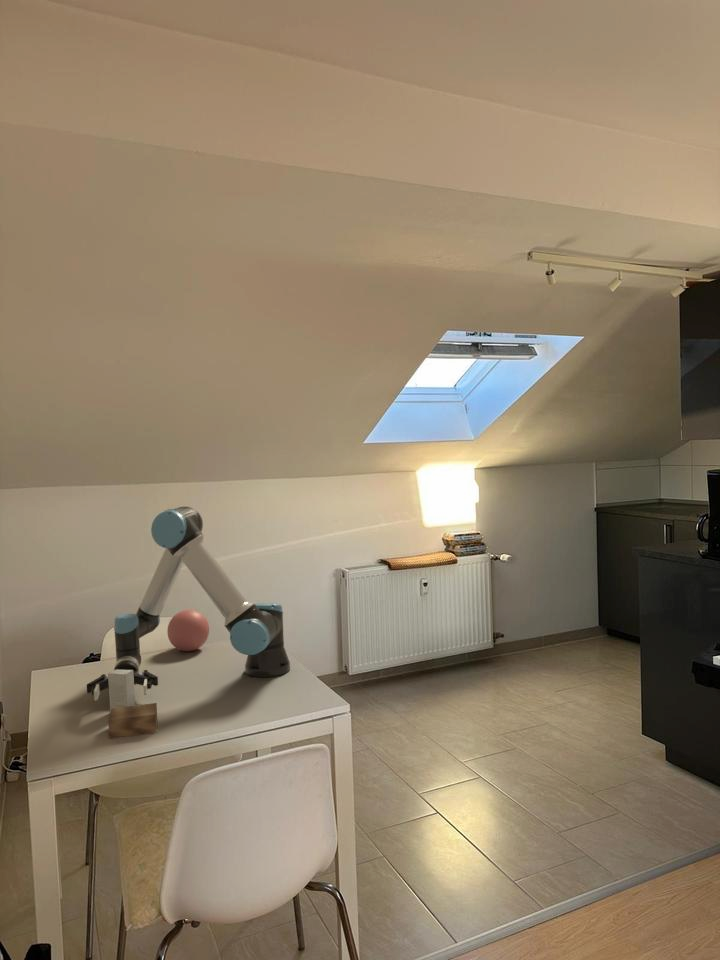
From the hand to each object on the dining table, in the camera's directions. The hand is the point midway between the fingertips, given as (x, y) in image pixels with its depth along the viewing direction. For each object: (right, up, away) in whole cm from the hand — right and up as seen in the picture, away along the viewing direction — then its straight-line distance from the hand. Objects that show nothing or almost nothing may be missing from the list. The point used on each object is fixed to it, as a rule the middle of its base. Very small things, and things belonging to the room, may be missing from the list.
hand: (120, 693), depth 208 cm
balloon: (+4, -3, +68) cm, 68 cm away
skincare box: (0, -7, +3) cm, 7 cm away
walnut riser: (+7, -7, -10) cm, 14 cm away
